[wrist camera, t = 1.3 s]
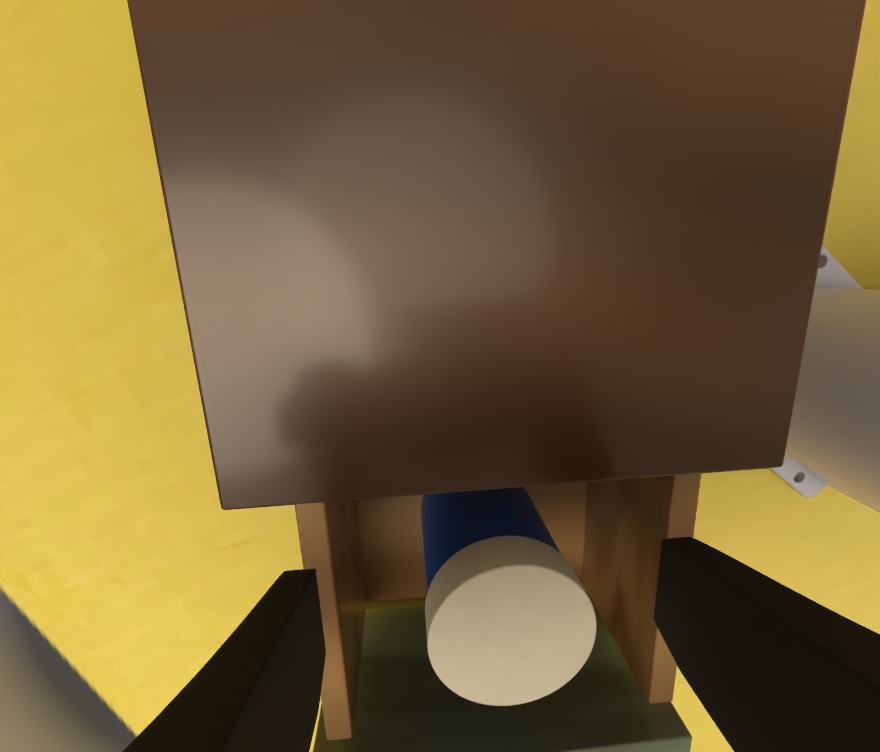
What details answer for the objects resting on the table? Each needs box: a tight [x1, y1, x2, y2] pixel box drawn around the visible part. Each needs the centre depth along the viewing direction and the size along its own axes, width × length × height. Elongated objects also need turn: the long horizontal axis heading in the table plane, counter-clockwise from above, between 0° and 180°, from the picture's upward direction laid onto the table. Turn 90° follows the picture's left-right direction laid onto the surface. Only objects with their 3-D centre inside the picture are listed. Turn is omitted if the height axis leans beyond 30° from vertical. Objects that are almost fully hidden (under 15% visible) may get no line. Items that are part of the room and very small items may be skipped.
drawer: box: [295, 473, 701, 752], centre depth 16 cm, size 18×12×7 cm
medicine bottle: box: [421, 487, 596, 706], centre depth 15 cm, size 5×5×6 cm
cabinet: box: [127, 0, 866, 510], centre depth 13 cm, size 15×14×9 cm
